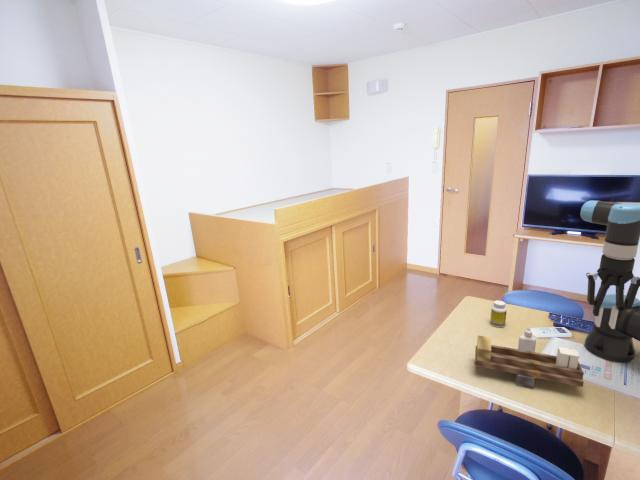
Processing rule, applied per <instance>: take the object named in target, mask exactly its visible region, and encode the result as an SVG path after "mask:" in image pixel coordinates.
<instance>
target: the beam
mask: <svg viewBox="0 0 640 480" xmlns="http://www.w3.org/2000/svg"><path fill="white" fill-rule="evenodd" d="M476 339H477V340H476V341H477V342H476V345H475V350H474V352H475V353H474V358H475V359H474V366H476V367H480V368H486V369H491V370H495V371H496V370H497V371H501V372H506V373H511V374H514V376H515V384H516V386H518V387H523V388H527V389H532V390H534V387H535V380H536V379H542V380H547V381H552V382H556V383H560V384H567V385H571V386H576V387H581V388H583V387H584V375H585V374H584V371H583V369H582V366H581V365H580V361H579V360H578V366H577V370H576V369H570V368H565V367H559V366H556V358H557V355H553V354H546V353H540V352H537V351H535V352H532V351H531V352H530V351H524V350H518V348H511V347H508V346H507V347H506V346H499V345H495V344H492V340H491V339H492V337H489V336H485V335H484V336H483V335H477V338H476Z"/></svg>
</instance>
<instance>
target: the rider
mask: <svg viewBox="0 0 640 480" xmlns="http://www.w3.org/2000/svg"><path fill="white" fill-rule="evenodd" d="M556 352H557V353H556V356H557V358H556V366H559V367H565V368H570V369H576V370H577V366H578V361H579V359H580V355H579V353H578V350H577V349H575V348H568V347H561V346H558V347H557V351H556Z"/></svg>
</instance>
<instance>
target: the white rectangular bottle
mask: <svg viewBox="0 0 640 480" xmlns="http://www.w3.org/2000/svg"><path fill="white" fill-rule="evenodd" d="M536 345H537V338H535V336H533V331H532V330H531V328H530V327H527V329H525V330H524V334H521V335H519V338H518V345H517V349H518V350H524V351H530V352H531V351H532V352H536Z"/></svg>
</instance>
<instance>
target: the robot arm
mask: <svg viewBox="0 0 640 480" xmlns="http://www.w3.org/2000/svg"><path fill="white" fill-rule="evenodd" d="M579 214H580V219H582V220H583V221H584V222H588V223H591V224H596V225H597V224H598V225H604V226H606V230H605V231H606V232H605V238H604V242H603V247H602V255H601V258H600V261H599V262H600V263H599V268H598V269H597V270H596V272H592V273H590V272H588V273H586V278H587V293H586V294H587V296H586V297H587V299H586V300H587V302H588V303H589V305H590V306H593V307H592V314H593V316H595V317H594V321H593V326H592V329H591V331H589V334H588V335H587V336H586V337H585V339H584V344H583V346H584V347H585V348H586V350H587V351H588V352H590V353H591V354H593V355H595V356H597V357H599V358H601V359H604V360H607V361H611V362H616V363H630V362H633V361H634V360H635V358H636V349H635V344H634V341H633V339H634V340H637V341H638V342H640V299H638V298H637V294H638V291H639V289H640V277H639V276H635V275H634V273H633V271H634V265H635V261H636V259H635V258H636V256H637V252H638V247H639V243H640V242H639V241H640V202H633V201H632V202H630V201H623V202H622V201H602V200H591V199H590V200H588V201H586V202H585V203H583V204H582V206H581V209H580V213H579ZM598 277H599V279H600V280H601V282H600V286H599V287H598V291H597V293H596V281H597V279H598ZM628 282H630V284H629V286H628V290H627V293H626V295H625V294H624V293H625V284H627V283H628ZM611 286H614V287H615V293H613V294H612V293H611V294H607V292H608V290H609V289H610V287H611Z"/></svg>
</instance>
